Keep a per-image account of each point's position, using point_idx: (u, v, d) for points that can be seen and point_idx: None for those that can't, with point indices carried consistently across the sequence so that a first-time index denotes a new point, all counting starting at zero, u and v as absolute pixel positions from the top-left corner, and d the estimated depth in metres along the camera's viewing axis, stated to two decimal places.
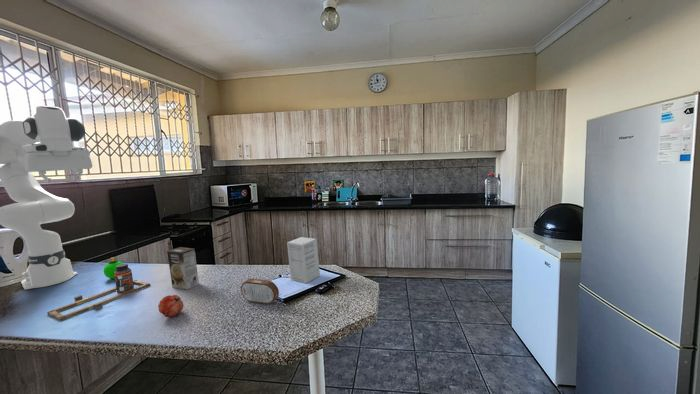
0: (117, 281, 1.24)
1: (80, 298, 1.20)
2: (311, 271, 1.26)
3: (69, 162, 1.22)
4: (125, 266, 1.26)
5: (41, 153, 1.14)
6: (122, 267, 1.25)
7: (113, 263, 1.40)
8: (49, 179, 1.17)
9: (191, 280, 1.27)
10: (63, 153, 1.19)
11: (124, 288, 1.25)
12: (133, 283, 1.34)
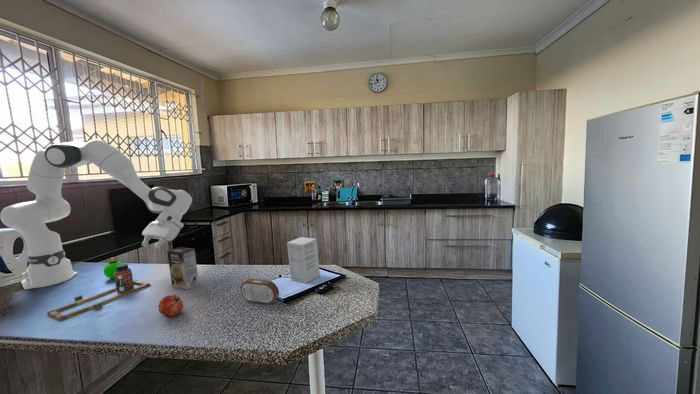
0: (117, 281, 1.24)
1: (80, 298, 1.20)
2: (311, 271, 1.26)
3: None
4: (125, 266, 1.26)
5: None
6: (122, 267, 1.25)
7: (113, 263, 1.40)
8: None
9: (191, 280, 1.27)
10: None
11: (124, 288, 1.25)
12: (133, 283, 1.34)
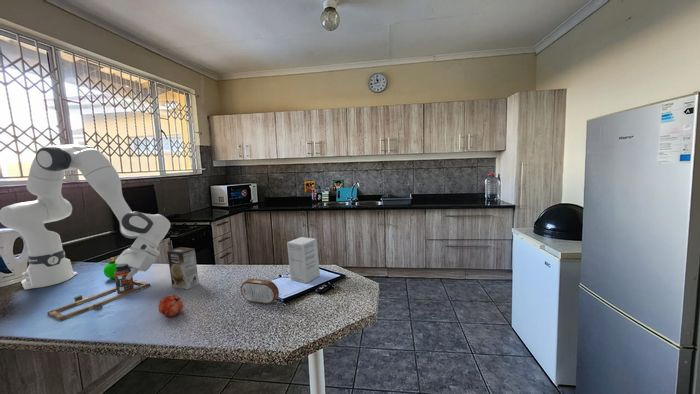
0: (117, 281, 1.24)
1: (80, 298, 1.20)
2: (311, 271, 1.26)
3: None
4: (125, 266, 1.26)
5: None
6: (122, 267, 1.25)
7: (113, 263, 1.40)
8: None
9: (192, 280, 1.27)
10: None
11: (124, 288, 1.25)
12: None
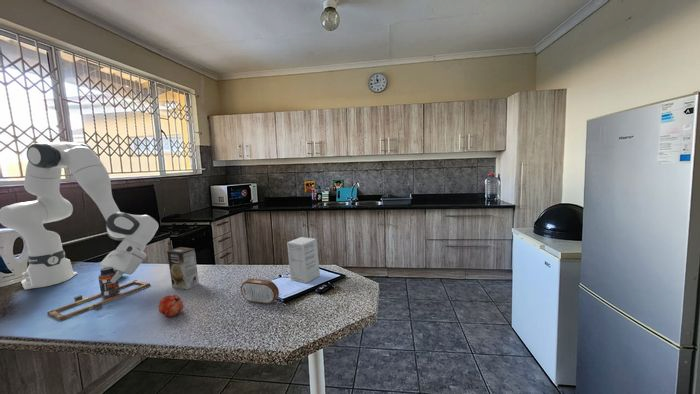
0: (101, 285, 1.19)
1: (80, 298, 1.20)
2: (311, 271, 1.26)
3: None
4: (110, 269, 1.21)
5: None
6: (107, 270, 1.20)
7: None
8: None
9: (191, 280, 1.27)
10: None
11: (109, 292, 1.20)
12: (133, 283, 1.34)
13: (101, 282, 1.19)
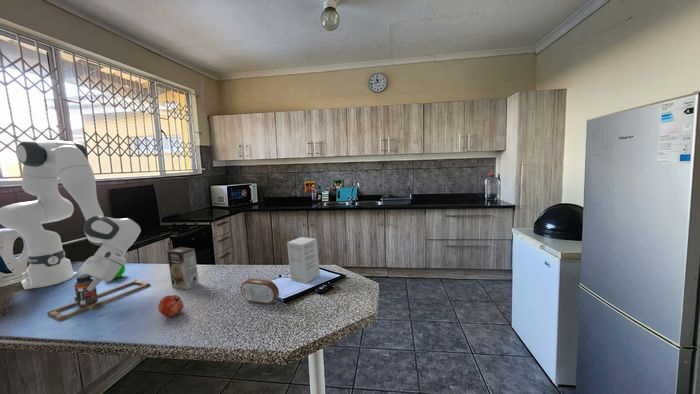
0: (77, 294, 1.13)
1: None
2: (311, 271, 1.26)
3: None
4: (87, 277, 1.14)
5: None
6: (83, 278, 1.13)
7: None
8: None
9: (191, 280, 1.27)
10: None
11: (86, 301, 1.13)
12: (133, 283, 1.34)
13: (77, 291, 1.12)
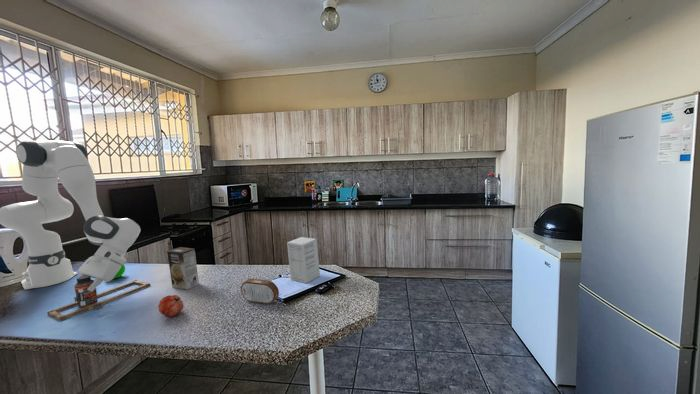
0: (78, 295, 1.13)
1: None
2: (311, 271, 1.26)
3: None
4: (87, 278, 1.14)
5: None
6: (83, 279, 1.13)
7: None
8: None
9: (191, 280, 1.27)
10: None
11: (86, 302, 1.13)
12: (133, 283, 1.34)
13: (77, 291, 1.12)
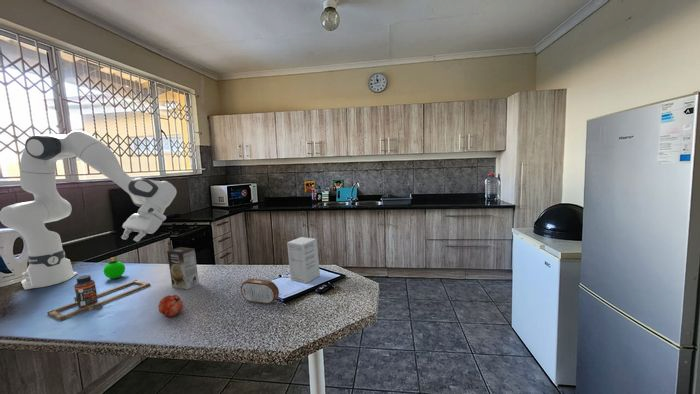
0: (78, 295, 1.13)
1: None
2: (311, 271, 1.26)
3: None
4: (87, 278, 1.14)
5: None
6: (83, 279, 1.13)
7: (113, 263, 1.40)
8: None
9: (191, 280, 1.27)
10: None
11: (86, 302, 1.13)
12: (133, 283, 1.34)
13: (77, 291, 1.12)
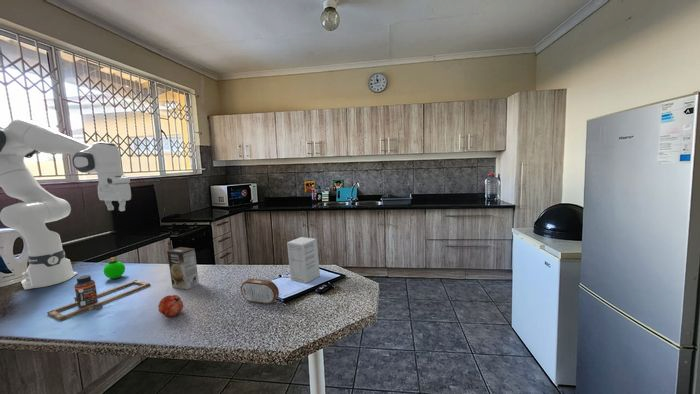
0: (78, 295, 1.13)
1: None
2: (311, 271, 1.26)
3: None
4: (87, 278, 1.14)
5: None
6: (83, 279, 1.13)
7: (113, 263, 1.40)
8: None
9: (192, 280, 1.27)
10: None
11: (86, 302, 1.13)
12: (133, 283, 1.34)
13: (77, 291, 1.12)
